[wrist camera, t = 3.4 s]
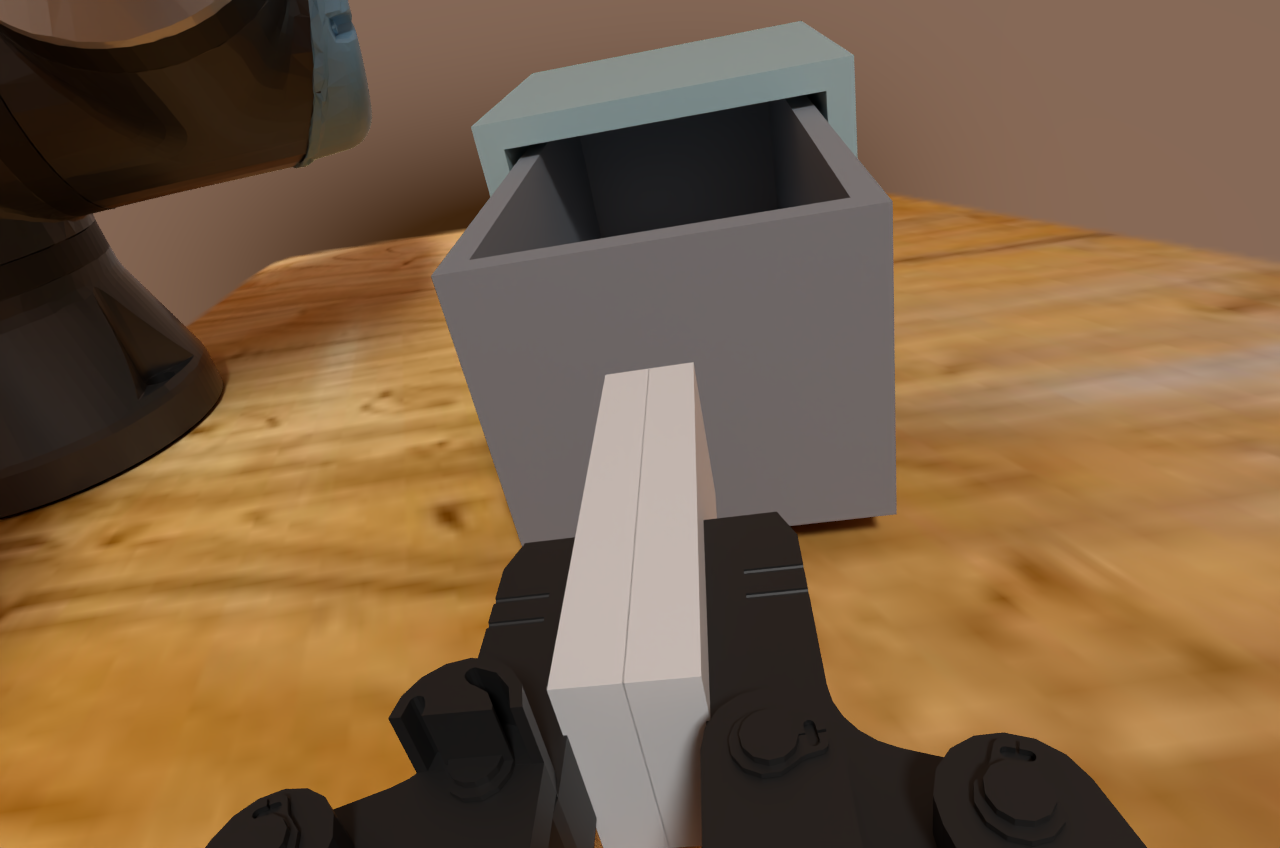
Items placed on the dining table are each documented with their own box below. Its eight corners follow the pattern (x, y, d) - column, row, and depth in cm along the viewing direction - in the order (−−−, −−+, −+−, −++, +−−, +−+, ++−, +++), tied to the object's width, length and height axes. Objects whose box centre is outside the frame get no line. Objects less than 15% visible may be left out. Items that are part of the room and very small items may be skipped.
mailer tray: (896, 514, 23) (892, 201, 18) (524, 554, 24) (430, 276, 19) (794, 243, 43) (780, 63, 38) (596, 274, 44) (559, 105, 40)
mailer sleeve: (864, 359, 33) (853, 55, 27) (547, 402, 35) (470, 127, 29) (816, 249, 45) (801, 21, 39) (581, 286, 47) (532, 73, 41)
